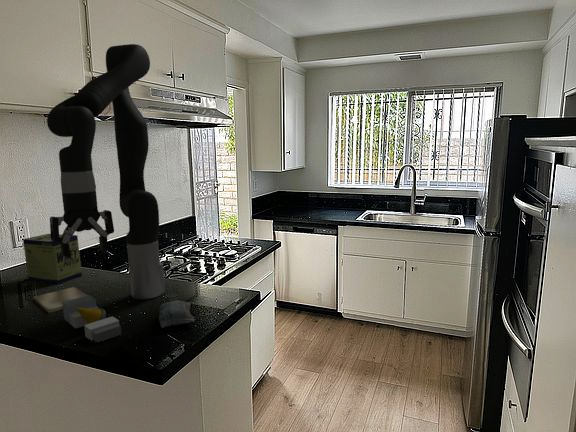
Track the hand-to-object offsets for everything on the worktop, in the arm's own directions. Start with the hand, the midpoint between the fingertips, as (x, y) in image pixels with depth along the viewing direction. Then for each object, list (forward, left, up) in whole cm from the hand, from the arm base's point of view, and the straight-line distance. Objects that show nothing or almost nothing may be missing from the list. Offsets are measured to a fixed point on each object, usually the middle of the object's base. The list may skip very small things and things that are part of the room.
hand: (85, 254), depth 104 cm
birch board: (-1, -29, -20) cm, 35 cm away
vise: (0, -1, -20) cm, 20 cm away
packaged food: (-17, +13, -20) cm, 29 cm away
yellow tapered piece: (0, 0, -20) cm, 20 cm away
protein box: (-7, -57, -20) cm, 61 cm away
